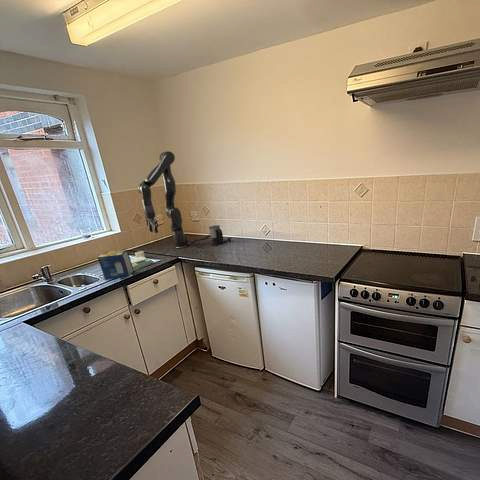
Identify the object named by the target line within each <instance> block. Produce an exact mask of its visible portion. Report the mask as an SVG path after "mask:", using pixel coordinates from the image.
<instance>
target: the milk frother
mask: <svg viewBox="0 0 480 480" xmlns="http://www.w3.org/2000/svg"><path fill="white" fill-rule="evenodd" d="M208 230H209V234H210V235H209V236H210V239H211V245H212V246H219V245H222V244H223V243H225V242H227V241H228V242H230V241H231V240H232V239H233V238H232V237H227V238H226V239H225V240H224V234H223V230H222V229H221V225H219V224H218V225H217V224H216V225H211V226H208Z"/></svg>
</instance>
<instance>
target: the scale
mask: <svg viewBox="0 0 480 480" xmlns="http://www.w3.org/2000/svg"><path fill="white" fill-rule="evenodd" d="M130 260H131V264H132V267H133V270H135V269H138V268H142V267H144V266H147V265H151V264H153V259H150V258H147V257H145V258H144V257H137V258H136V257H134V258H130Z"/></svg>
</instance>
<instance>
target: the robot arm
mask: <svg viewBox="0 0 480 480" xmlns="http://www.w3.org/2000/svg"><path fill="white" fill-rule="evenodd" d="M175 156H176V155H175V154H174V153H173V152H172V151H170V150H166V151H162V152H161V153H160V154H159V163H158V164H157V165H155V167H154V168H152V169H151V171H150V172H149V173H148V175H147V176H145V177H146V178H145V179H144V180H142V181H141V182H140V184H139V185H138V187H137V191H138V193H139V194H141V196H142V198H141V205H142V209H143V213H144V219H145V224H146V226H147V228H148V229H149V232H150V233H153V232H154V233H155V234H157V233H159V230H158V228H159V222H158V219H157V218H156V216H157V215H156V212H155V208H154V204H153V200H152V189H151V187H153V186H155V184H156V183H157V182H158V180H159V179H160V177H161V176H162V182H163V184H162V185H163V191H164V199H165V200H164V201H165V216H166V217H167V218H168V219H170V220H171V223H170V225H169V226H170V231H171V234H172V237H173V238H172V239H173V243H174V247H175V249H183V248H186V247H188V246H189V242H190V243H191V244H193V243H195V242H197V241H201V240H205V239H207V238H208V237H209V236H211V235H210V233H209V234H207V235H206V237H204V238H199V239H196V240H193V241H191V240H188V239H187V236H186V234H185V231H184V226H183V217H182V212H181V210H180V208H179V207H176V206H175V199H176V195H177V184H176V180H175V177H174V175H173V173H172V168H171V167H172V166H171V165H172V164H174V162H175V160H176V157H175Z"/></svg>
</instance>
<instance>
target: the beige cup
mask: <svg viewBox="0 0 480 480" xmlns="http://www.w3.org/2000/svg"><path fill="white" fill-rule="evenodd" d="M134 254H135V258H137V257H144V258H146V255H145V252H144V250H139V251H136V252H135V253H134Z"/></svg>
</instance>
